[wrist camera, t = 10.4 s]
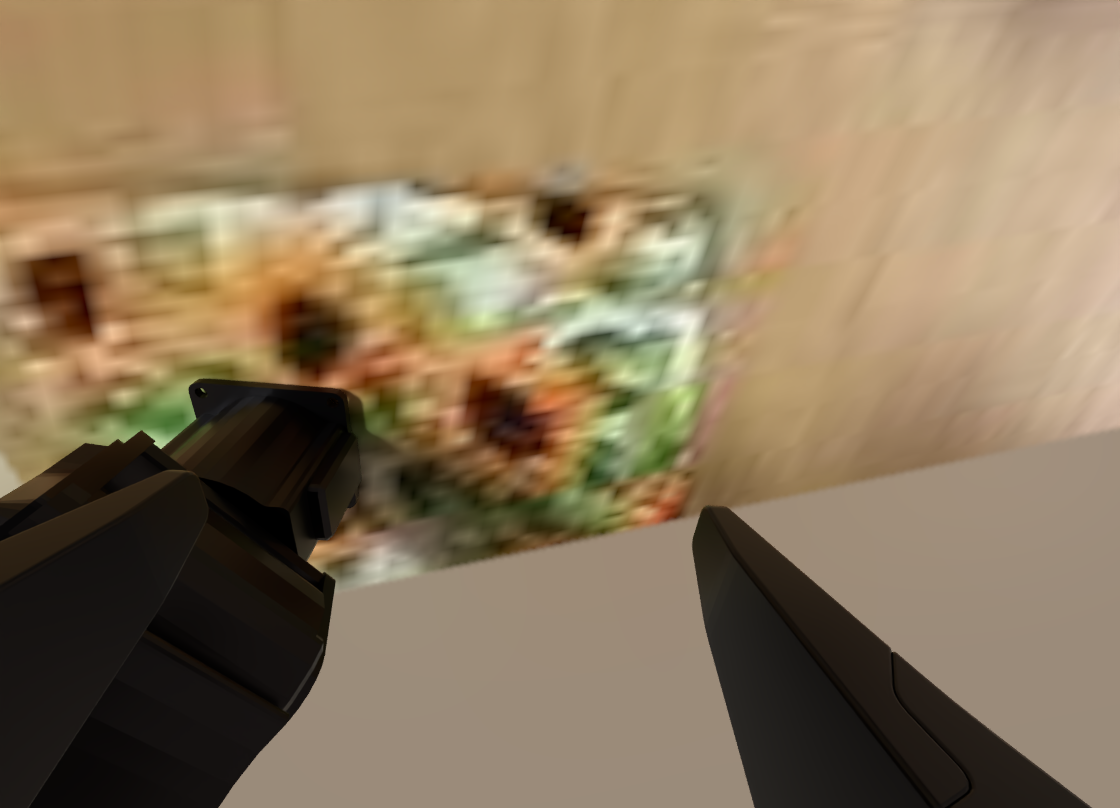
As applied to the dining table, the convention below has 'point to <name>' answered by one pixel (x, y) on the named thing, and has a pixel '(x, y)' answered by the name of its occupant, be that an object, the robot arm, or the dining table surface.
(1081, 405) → the dining table surface
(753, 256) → the dining table surface
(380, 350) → the dining table surface
